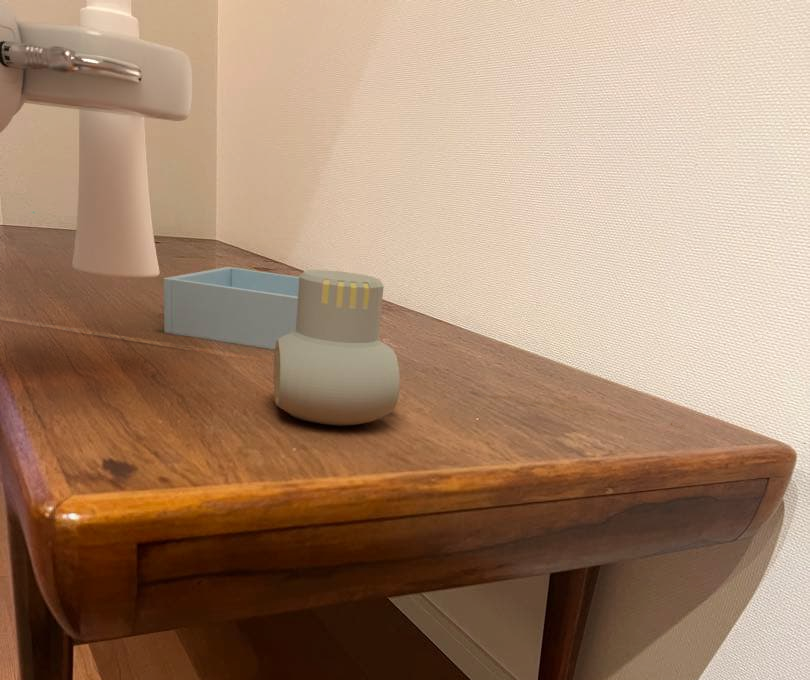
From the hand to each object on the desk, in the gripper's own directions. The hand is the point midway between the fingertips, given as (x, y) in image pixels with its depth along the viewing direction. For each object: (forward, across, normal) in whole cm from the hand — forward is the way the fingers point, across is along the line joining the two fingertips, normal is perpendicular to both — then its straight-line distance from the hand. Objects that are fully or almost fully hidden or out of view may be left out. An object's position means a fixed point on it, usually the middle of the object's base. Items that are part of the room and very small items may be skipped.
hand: (121, 88), depth 53 cm
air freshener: (+2, -17, +20) cm, 26 cm away
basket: (+24, +2, +20) cm, 31 cm away
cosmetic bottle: (-1, 0, +12) cm, 12 cm away
